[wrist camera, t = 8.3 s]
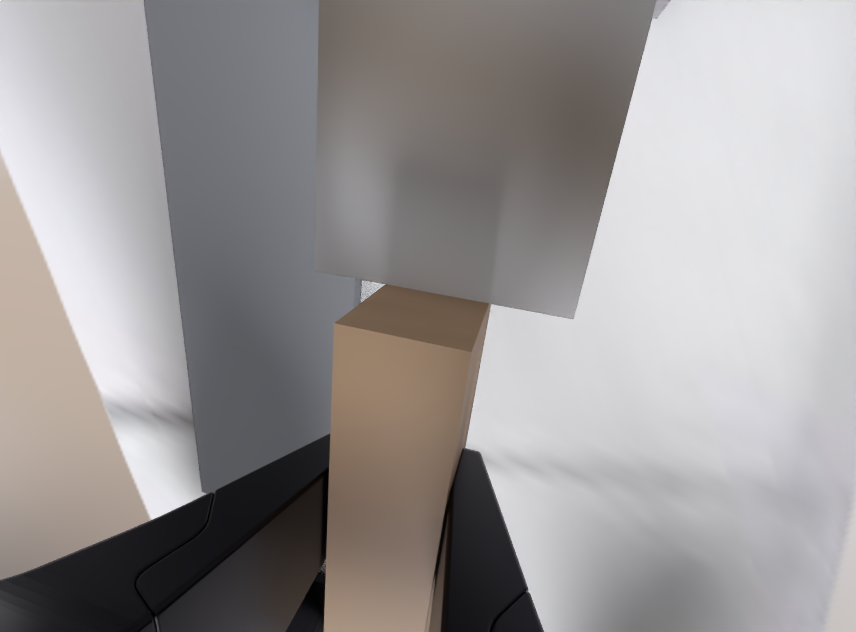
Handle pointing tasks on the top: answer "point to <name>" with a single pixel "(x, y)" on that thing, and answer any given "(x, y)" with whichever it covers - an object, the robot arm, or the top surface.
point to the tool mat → (246, 224)
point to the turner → (446, 243)
